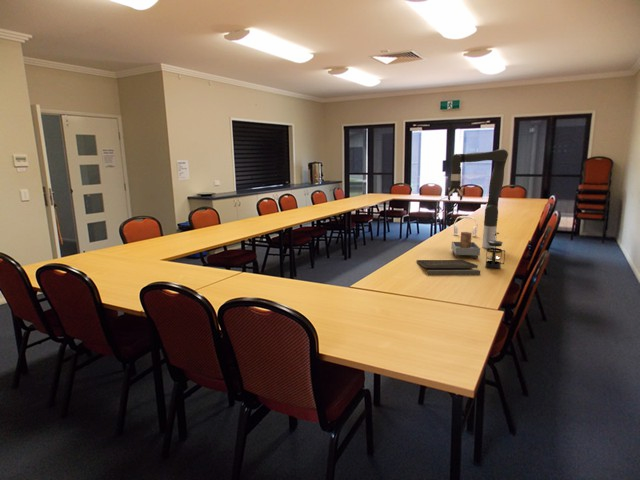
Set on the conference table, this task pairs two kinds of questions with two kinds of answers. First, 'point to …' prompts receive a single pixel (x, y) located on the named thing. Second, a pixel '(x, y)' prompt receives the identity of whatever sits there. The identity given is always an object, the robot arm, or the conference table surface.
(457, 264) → the shutter
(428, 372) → the conference table surface
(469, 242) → the walnut block
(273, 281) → the conference table surface
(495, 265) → the french press
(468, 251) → the shallow gray tray
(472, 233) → the headset
